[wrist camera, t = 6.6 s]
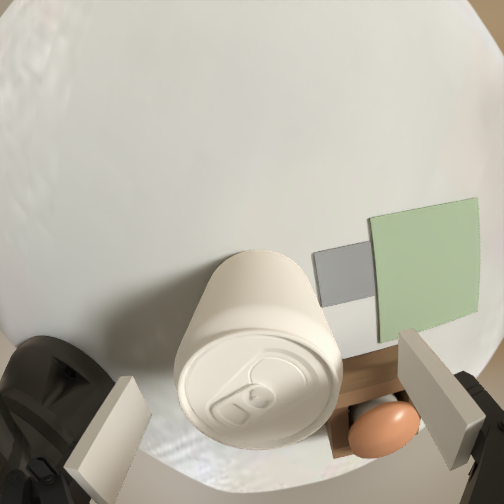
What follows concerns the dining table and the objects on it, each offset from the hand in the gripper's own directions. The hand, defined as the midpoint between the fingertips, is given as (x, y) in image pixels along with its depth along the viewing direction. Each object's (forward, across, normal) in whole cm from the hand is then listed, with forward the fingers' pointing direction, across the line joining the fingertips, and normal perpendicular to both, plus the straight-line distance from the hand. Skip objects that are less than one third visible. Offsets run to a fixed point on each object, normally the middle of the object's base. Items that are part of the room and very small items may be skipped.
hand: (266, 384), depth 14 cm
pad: (+11, +14, -1) cm, 18 cm away
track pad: (+11, +6, +1) cm, 13 cm away
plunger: (+10, +8, -11) cm, 17 cm away
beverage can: (+11, 0, 0) cm, 11 cm away
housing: (+11, +8, -11) cm, 17 cm away
